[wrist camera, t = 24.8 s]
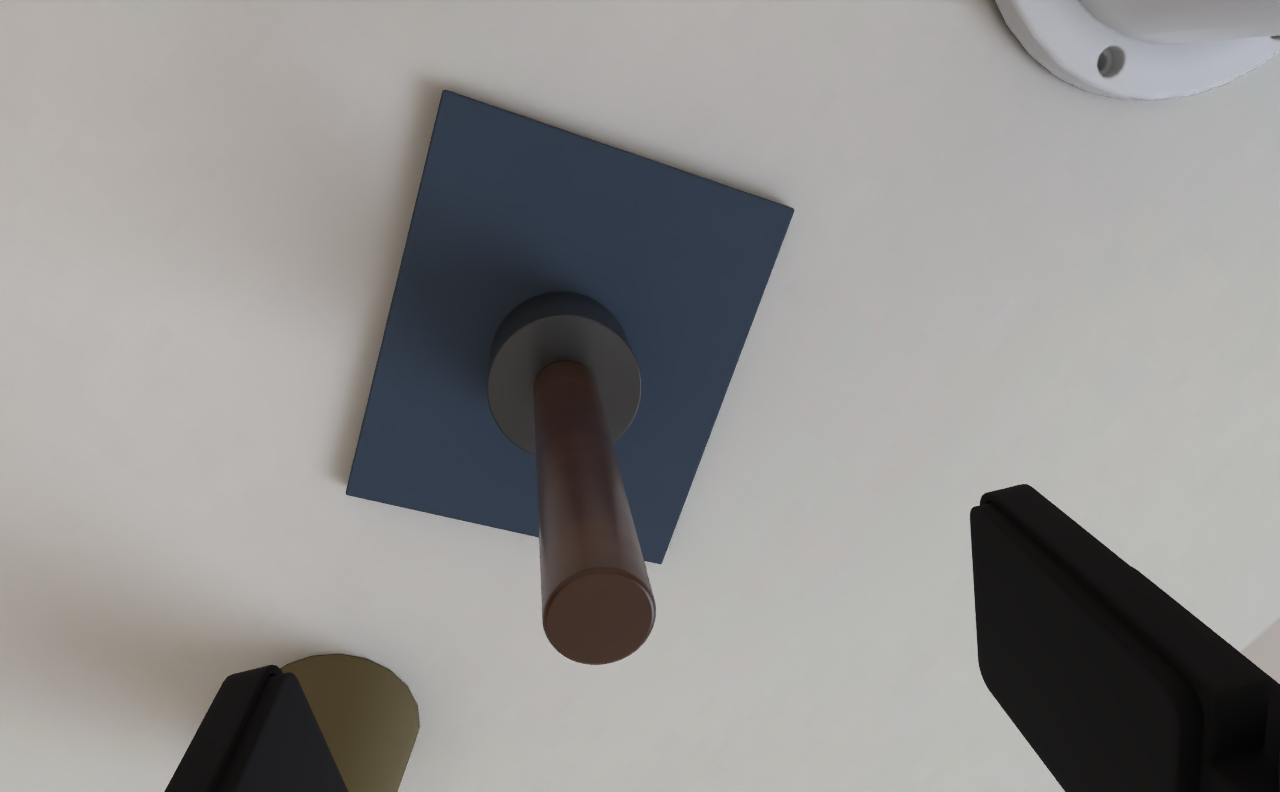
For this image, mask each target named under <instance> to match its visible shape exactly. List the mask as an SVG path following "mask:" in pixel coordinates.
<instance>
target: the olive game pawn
mask: <svg viewBox="0 0 1280 792" xmlns="http://www.w3.org/2000/svg"><path fill="white" fill-rule="evenodd" d="M281 670H282V672H283V673H287V672H291V673H293V674H294V675H295V676H296V677H297V679H298V681H299V683H300V685H301V687H302V690H303V692H304V694H305V696H306V698H307V701H308V703H309V705H310V707H311V710H312V712H313V714H314V716H315V718H316V721H317V723H318V725H319V727H320V730H321V732H322V734H323V736H324V738H325V741H326V743H327V745H328V747H329V749H330V752H331V754H332V756H333V758H334V761H335V763H336V765H337V767H338V769H339V772H340V774H341V776H342V778H343V781H344V783H345V785H346V787H347V789H348V792H397V791H398V788H399V785H400V783H401V780H402V777H403V774H404V771H405V769H406V766H407V763H408V760H409V757H410V754H411V752H412V749H413V746H414V743H415V740H416V736H417V733H418V730H419V727H420V726H419V715H418V706H417V704H416V702H415V700H414V698H413V696H412V694H411V692H410V690H409V688H408V687H407V686H406V685H405V684H404V683H403V682H402V681H401V680H400V679H399V678H398V677H397V676H396V675H395V674H394V673H392V672H391V671H390V670H388V669H386V668H384V667H382V666H380V665H378V664H376V663H374V662H372V661H370V660H368V659H363V658H358V657H352V656H347V655H342V654H336V655H321V656H311V657H308V658H305V659H302V660H299V661H296V662H294V663H291V664H288V665H286V666H284V667H283V668H282V669H281Z"/></svg>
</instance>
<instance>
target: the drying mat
mask: <svg viewBox="0 0 1280 792" xmlns="http://www.w3.org/2000/svg"><path fill="white" fill-rule="evenodd" d="M793 213H794V209H793V208H791V207H788V206H785V205H782V204H779V203H776V202H773V201H770V200H767V199H764V198H761V197H759V196H756V195H753V194H750V193H747V192H744V191H741V190H738V189H735V188H732V187H729V186H726V185H723V184H720V183H717V182H715V181H712V180H709V179H706V178H703V177H700V176H697V175H694V174H691V173H688V172H685V171H682V170H679V169H676V168H673V167H671V166H668V165H665V164H662V163H659V162H656V161H653V160H650V159H647V158H644V157H641V156H638V155H635V154H632V153H629V152H627V151H624V150H621V149H618V148H615V147H612V146H609V145H606V144H603V143H600V142H597V141H594V140H591V139H588V138H585V137H583V136H580V135H577V134H574V133H571V132H568V131H565V130H562V129H559V128H556V127H553V126H550V125H547V124H544V123H542V122H539V121H536V120H533V119H530V118H527V117H524V116H521V115H518V114H515V113H512V112H509V111H506V110H503V109H500V108H498V107H495V106H492V105H489V104H486V103H483V102H480V101H477V100H474V99H471V98H468V97H465V96H462V95H459V94H456V93H454V92H451V91H448V90H443V92H442V96H441V100H440V104H439V108H438V112H437V117H436V121H435V125H434V129H433V133H432V137H431V141H430V146H429V150H428V154H427V158H426V162H425V166H424V170H423V175H422V179H421V183H420V187H419V191H418V195H417V199H416V203H415V208H414V212H413V216H412V220H411V224H410V228H409V232H408V237H407V241H406V245H405V249H404V253H403V257H402V261H401V266H400V270H399V274H398V278H397V282H396V286H395V290H394V295H393V299H392V303H391V307H390V311H389V315H388V319H387V324H386V328H385V332H384V336H383V340H382V344H381V348H380V353H379V357H378V361H377V365H376V369H375V373H374V377H373V382H372V386H371V390H370V394H369V398H368V402H367V406H366V411H365V415H364V419H363V423H362V427H361V431H360V435H359V440H358V444H357V448H356V452H355V456H354V460H353V464H352V469H351V473H350V477H349V481H348V485H347V489H346V494H347V495H350V496H354V497H359V498H363V499H368V500H372V501H377V502H381V503H386V504H390V505H395V506H400V507H404V508H409V509H413V510H418V511H422V512H427V513H431V514H436V515H440V516H445V517H449V518H454V519H458V520H463V521H467V522H472V523H476V524H481V525H485V526H490V527H494V528H499V529H504V530H508V531H513V532H517V533H522V534H526V535H531V536H535V537H539V519H538V494H537V469H536V456H535V455H532V454H530V453H528V452H526V451H524V450H522V449H521V448H519V447H517V446H516V445H515V444H514V443H512V442H511V441H510V440H509V439H508V438H507V437H506V436H505V435H504V434H503V433H502V431H501V430H500V429H499V427H498V426H497V424H496V422H495V420H494V419H493V417H492V414H491V411H490V408H489V404H488V400H487V376H488V368H489V361H490V353H491V347H492V342H493V339H494V336H495V333H496V331H497V329H498V328H499V326H500V324H501V323H502V321H503V320H504V318H505V317H506V316H507V315H508V314H509V313H510V312H511V311H512V310H513V309H514V308H515V307H517V306H518V305H519V304H521V303H523V302H524V301H526V300H528V299H530V298H532V297H534V296H537V295H541V294H544V293H550V292H572V293H576V294H581V295H584V296H586V297H589V298H591V299H593V300H595V301H597V302H599V303H600V304H601V305H603V306H604V307H606V308H607V309H608V310H609V311H610V312H611V313H612V314H613V315H614V316H615V318H616V319H617V320H618V322H619V323H620V325H621V327H622V328H623V331H624V333H625V335H626V337H627V339H628V342H629V344H630V346H631V348H632V350H633V353H634V355H635V357H636V359H637V362H638V365H639V368H640V372H641V379H642V394H641V400H640V404H639V408H638V411H637V413H636V415H635V418H634V419H633V421H632V423H631V425H630V426H629V428H628V429H627V430H626V431H625V433H624V434H623V435H622V436H621V437H620V438H619V439H618V440H617V441H616V442H614V443H613V447H614V451H615V454H616V458H617V462H618V466H619V469H620V473H621V477H622V481H623V484H624V488H625V492H626V496H627V499H628V503H629V507H630V510H631V514H632V518H633V522H634V525H635V529H636V533H637V537H638V540H639V544H640V548H641V552H642V555H643V559H644V561H648V562H653V563H657V564H661V563H662V561H663V559H664V556H665V553H666V551H667V548H668V545H669V543H670V540H671V537H672V535H673V532H674V529H675V527H676V524H677V521H678V519H679V516H680V513H681V511H682V508H683V505H684V503H685V500H686V497H687V495H688V492H689V489H690V487H691V484H692V481H693V479H694V476H695V473H696V471H697V468H698V465H699V463H700V460H701V458H702V455H703V452H704V450H705V447H706V444H707V442H708V439H709V436H710V434H711V431H712V428H713V426H714V423H715V420H716V418H717V415H718V412H719V410H720V407H721V404H722V402H723V399H724V396H725V394H726V391H727V388H728V386H729V383H730V380H731V378H732V375H733V372H734V370H735V367H736V364H737V362H738V359H739V356H740V354H741V351H742V348H743V346H744V343H745V340H746V338H747V335H748V332H749V330H750V327H751V325H752V322H753V319H754V317H755V314H756V311H757V309H758V306H759V303H760V301H761V298H762V295H763V293H764V290H765V287H766V285H767V282H768V279H769V277H770V274H771V271H772V269H773V266H774V263H775V261H776V258H777V255H778V253H779V250H780V247H781V245H782V242H783V239H784V237H785V234H786V231H787V229H788V226H789V223H790V221H791V218H792V215H793Z"/></svg>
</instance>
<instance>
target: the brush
mask: <svg viewBox="0 0 1280 792" xmlns="http://www.w3.org/2000/svg"><path fill="white" fill-rule="evenodd" d="M641 394H642V379H641V372H640V368H639V365H638V362H637V359H636V357H635V355H634V353H633V350H632V348H631V346H630V344H629V342H628V339H627V337H626V335H625V333H624V331H623V328H622V327H621V325H620V323H619V322H618V320H617V319H616V318H615V316H614V315H613V314H612V313H611V312H610V311H609V310H608V309H607V308H606V307H604V306H603V305H601V304H600V303H599V302H597V301H595V300H593V299H591V298H589V297H586V296H584V295H581V294H576V293H572V292H550V293H544V294H541V295H537V296H534V297H532V298H530V299H528V300H526V301H524V302H523V303H521V304H519V305H518V306H517V307H515V308H514V309H513V310H512V311H511V312H510V313H509V314H508V315H507V316H506V317H505V318H504V320H503V321H502V323H501V324H500V326H499V328H498V329H497V331H496V333H495V336H494V339H493V342H492V347H491V353H490V361H489V368H488V376H487V400H488V404H489V408H490V411H491V414H492V417H493V419H494V420H495V422H496V424H497V426H498V427H499V429H500V430H501V431H502V433H503V434H504V435H505V436H506V437H507V438H508V439H509V440H510V441H511V442H512V443H514V444H515V445H516V446H517V447H519V448H521V449H522V450H524V451H526V452H528V453H530V454H532V455H535V456H536V469H537V494H538V519H539V544H540V569H541V595H542V619H543V627H544V631H545V634H546V636H547V638H548V640H549V642H550V643H551V644H552V645H553V647H554V648H555V649H556V650H557V651H558V652H559V653H561V654H562V655H564V656H565V657H567V658H569V659H571V660H573V661H576V662H579V663H583V664H590V665H600V664H607V663H612V662H615V661H618V660H621V659H623V658H625V657H627V656H629V655H630V654H632V653H633V652H635V651H636V650H637V649H638V648H639V647H640V646H641V645H642V644H643V643H644V642H645V641H646V639H647V638H648V636H649V634H650V632H651V630H652V628H653V625H654V622H655V617H656V605H655V600H654V596H653V593H652V589H651V585H650V581H649V578H648V574H647V570H646V567H645V563H644V559H643V555H642V552H641V548H640V544H639V540H638V537H637V533H636V529H635V525H634V522H633V518H632V514H631V510H630V507H629V503H628V499H627V496H626V492H625V488H624V484H623V481H622V477H621V473H620V469H619V466H618V462H617V458H616V454H615V451H614V447H613V443H614V442H616V441H617V440H618V439H619V438H620V437H621V436H622V435H623V434H624V433H625V431H626V430H627V429H628V428H629V426H630V425H631V423H632V421H633V419H634V418H635V415H636V413H637V411H638V408H639V404H640V400H641Z"/></svg>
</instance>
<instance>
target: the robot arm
mask: <svg viewBox="0 0 1280 792" xmlns="http://www.w3.org/2000/svg"><path fill="white" fill-rule="evenodd" d="M995 1H996V3H997V5H998V7H999V9H1000V11H1001V14H1002V16H1003V18H1004V20H1005V22H1006V24H1007V26H1008V27H1009V28H1010V30H1011V31H1012V32H1013V34H1014V35H1015V36H1016V38H1017V39H1018V40H1019V41H1020V43H1021V44H1022V45H1023V47H1024V48H1025V49H1026V51H1027V52H1028V53H1029V54H1030V55H1031V56H1032V57H1033V58H1034V59H1035V60H1037V61H1038V62H1039V63H1040V64H1042V65H1043V66H1044V67H1045V68H1046V69H1048V70H1049V71H1050V72H1051V73H1052V74H1054V75H1055V76H1056V77H1057V78H1060V79H1062V80H1064V81H1066V82H1068V83H1070V84H1072V85H1074V86H1076V87H1078V88H1080V89H1082V90H1084V91H1086V92H1089V93H1094V94H1098V95H1103V96H1108V97H1112V98H1117V99H1141V100H1159V99H1167V98H1175V97H1183V96H1192V95H1195V94H1198V93H1201V92H1204V91H1207V90H1210V89H1213V88H1216V87H1219V86H1221V85H1224V84H1227V83H1229V82H1231V81H1233V80H1235V79H1237V78H1238V77H1240V76H1242V75H1244V74H1246V73H1247V72H1249V71H1251V70H1253V69H1255V68H1257V67H1258V66H1260V65H1262V64H1264V63H1265V62H1266V61H1268V60H1269V59H1270V58H1271V57H1273V56H1274V55H1275V54H1277V53H1278V52H1279V51H1280V0H995ZM970 525H971V542H972V559H973V576H974V594H975V611H976V628H977V645H978V661H979V667H980V671H981V674H982V677H983V679H984V682H985V684H986V686H987V687H988V689H989V690H990V692H991V693H992V695H993V696H994V697H995V699H996V700H997V701H998V703H999V704H1000V705H1001V707H1002V708H1003V709H1004V711H1005V712H1006V713H1007V715H1008V716H1009V717H1010V719H1011V720H1012V721H1013V723H1014V724H1015V725H1016V727H1017V728H1018V729H1019V731H1020V732H1021V733H1022V735H1023V736H1024V737H1025V739H1026V740H1027V741H1028V743H1029V744H1030V745H1031V747H1032V748H1033V749H1034V751H1035V752H1036V753H1037V755H1038V756H1039V757H1040V758H1041V760H1042V761H1043V762H1044V764H1045V765H1046V766H1047V768H1048V769H1049V770H1050V772H1051V773H1052V774H1053V776H1054V777H1055V778H1056V780H1057V781H1058V782H1059V784H1060V785H1061V786H1062V788H1063V789H1064V790H1065V792H1280V684H1278V683H1277V682H1276V681H1275V680H1273V679H1272V678H1271V677H1270V676H1269V675H1267V674H1266V673H1265V672H1263V671H1262V670H1261V669H1260V668H1258V667H1257V666H1256V665H1255V664H1253V663H1252V662H1251V661H1250V660H1249V659H1247V658H1246V657H1245V656H1243V655H1242V654H1241V653H1240V652H1239V651H1237V650H1236V649H1235V648H1234V647H1232V646H1231V645H1230V644H1229V643H1227V642H1226V641H1225V640H1224V639H1222V638H1221V637H1220V636H1219V635H1217V634H1216V633H1215V632H1214V631H1212V630H1211V629H1210V628H1209V627H1208V626H1206V625H1205V624H1204V623H1203V622H1201V621H1200V620H1199V619H1198V618H1196V617H1195V616H1194V615H1193V614H1191V613H1190V612H1189V611H1188V610H1186V609H1185V608H1184V607H1183V606H1181V605H1180V604H1179V603H1178V602H1176V601H1175V600H1174V599H1173V598H1171V597H1170V596H1169V595H1168V594H1166V593H1165V592H1164V591H1163V590H1161V589H1160V588H1159V587H1158V586H1156V585H1155V584H1154V583H1153V582H1151V581H1150V580H1149V579H1148V578H1146V577H1145V576H1144V575H1143V574H1141V573H1140V572H1139V571H1138V570H1136V569H1134V568H1133V567H1131V566H1129V565H1128V564H1127V563H1126V562H1124V561H1123V560H1122V559H1121V558H1119V557H1118V556H1117V555H1116V554H1115V553H1113V552H1112V551H1111V550H1110V549H1108V548H1107V547H1106V546H1105V545H1103V544H1102V543H1101V542H1100V541H1098V540H1097V539H1096V538H1095V537H1093V536H1092V535H1091V534H1090V533H1088V532H1087V531H1086V530H1085V529H1083V528H1082V527H1081V526H1080V525H1078V524H1077V523H1076V522H1075V521H1074V520H1072V519H1071V518H1070V517H1069V516H1067V515H1066V514H1065V513H1064V512H1062V511H1061V510H1060V509H1059V508H1057V507H1056V506H1055V505H1054V504H1052V503H1051V502H1050V501H1049V500H1047V499H1046V498H1045V497H1044V496H1042V495H1041V494H1040V493H1039V492H1037V491H1036V490H1035V489H1034V488H1033V487H1031V486H1029V485H1027V484H1021V485H1017V486H1013V487H1009V488H1005V489H1001V490H997V491H992V492H988V493H985V494H984V495H983V496H982V498H981V500H980V506H976V507H973V508H972V509H971V512H970ZM165 792H348V789H347V787H346V785H345V783H344V781H343V778H342V776H341V774H340V772H339V769H338V767H337V765H336V763H335V761H334V758H333V756H332V754H331V752H330V749H329V747H328V745H327V743H326V741H325V738H324V736H323V734H322V732H321V730H320V727H319V725H318V723H317V721H316V718H315V716H314V714H313V712H312V710H311V707H310V705H309V703H308V701H307V698H306V696H305V694H304V692H303V690H302V687H301V685H300V683H299V681H298V679H297V677H296V676H295V675H294V674H293V673H291V672H287V673H283V672H282V670H281V669H280V668H279V667H278V666H275V665H269V666H265V667H261V668H257V669H253V670H248V671H244V672H240V673H236V674H232V675H230V676H228V677H227V678H226V679H225V681H224V682H223V683H222V685H221V687H220V689H219V691H218V693H217V695H216V697H215V698H214V700H213V702H212V704H211V706H210V708H209V710H208V712H207V713H206V715H205V717H204V719H203V721H202V723H201V725H200V726H199V728H198V730H197V732H196V734H195V736H194V738H193V740H192V741H191V743H190V745H189V747H188V749H187V751H186V753H185V755H184V756H183V758H182V760H181V762H180V764H179V766H178V768H177V769H176V771H175V773H174V775H173V777H172V779H171V781H170V783H169V784H168V786H167V788H166V790H165Z"/></svg>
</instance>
